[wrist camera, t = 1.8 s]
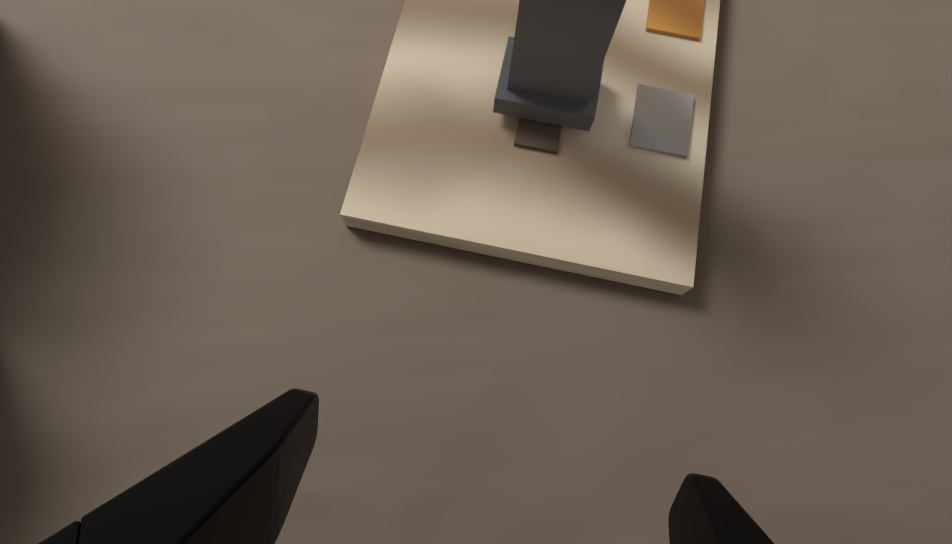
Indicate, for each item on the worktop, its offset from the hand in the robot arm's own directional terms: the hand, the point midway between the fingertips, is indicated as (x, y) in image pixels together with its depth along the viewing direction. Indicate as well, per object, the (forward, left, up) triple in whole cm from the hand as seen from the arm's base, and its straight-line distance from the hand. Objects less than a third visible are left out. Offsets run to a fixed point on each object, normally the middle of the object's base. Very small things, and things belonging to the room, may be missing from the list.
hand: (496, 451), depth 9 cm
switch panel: (+10, -14, -13) cm, 22 cm away
